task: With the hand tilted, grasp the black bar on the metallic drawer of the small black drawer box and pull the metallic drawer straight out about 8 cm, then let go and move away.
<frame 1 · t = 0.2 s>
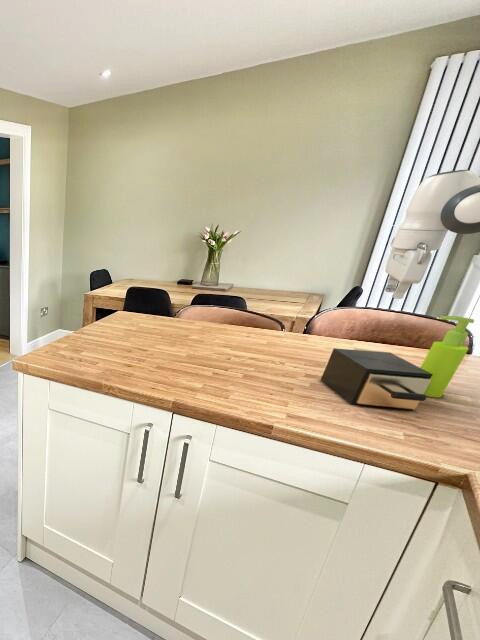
hand: (392, 294, 109), 22 cm above the countertop, tool pointing down, fingers open, 8 cm apart
black drawer box: (363, 394, 103), on the countertop
soap dispenser: (421, 392, 105), on the countertop
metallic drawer: (381, 384, 97), point 5 cm above the countertop, slide at 0.0 cm
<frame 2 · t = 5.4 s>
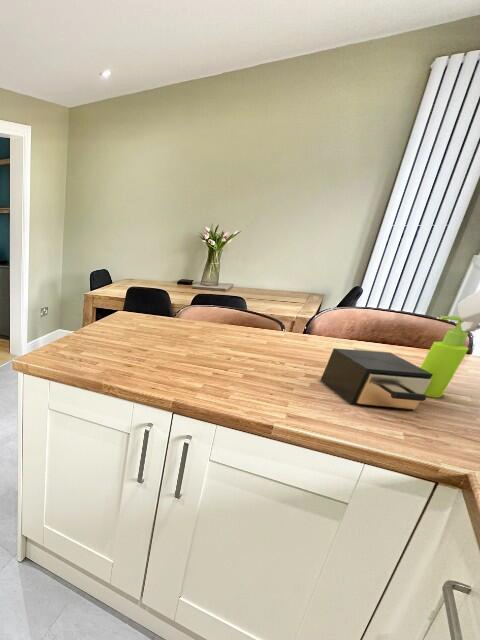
nothing on the countertop moved.
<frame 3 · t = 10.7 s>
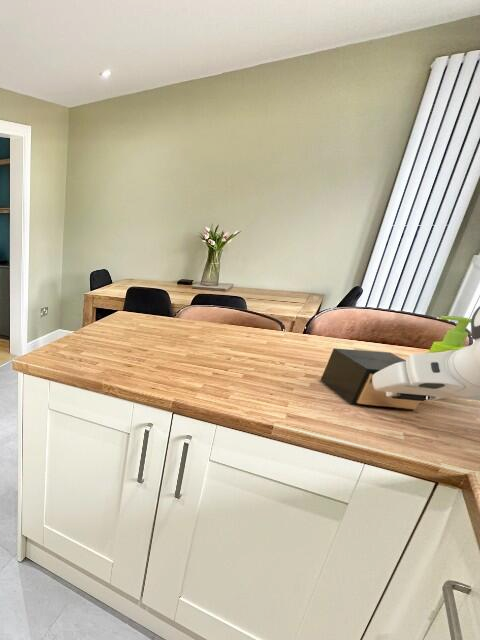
hand: (407, 395, 90), 6 cm above the countertop, tool tilted 45°, fingers closed on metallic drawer, 5 cm apart
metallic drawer: (381, 384, 97), point 5 cm above the countertop, slide at 0.0 cm, touching gripper
everything else where it was.
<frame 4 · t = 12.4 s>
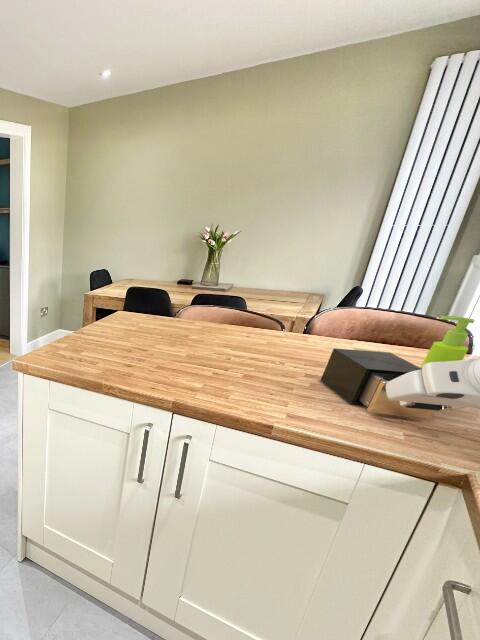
hand: (422, 404, 86), 6 cm above the countertop, tool tilted 45°, fingers closed on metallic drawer, 5 cm apart
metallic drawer: (394, 392, 93), point 5 cm above the countertop, slide at 4.6 cm, touching gripper
everything else where it was.
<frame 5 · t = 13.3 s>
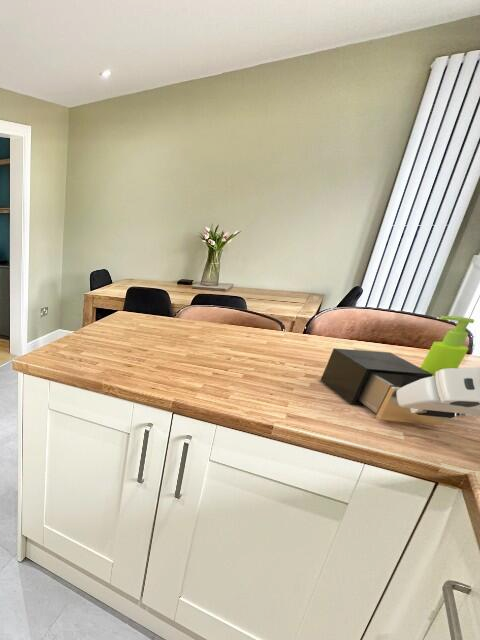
hand: (434, 411, 83), 6 cm above the countertop, tool tilted 45°, fingers closed on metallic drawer, 5 cm apart
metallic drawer: (404, 398, 90), point 5 cm above the countertop, slide at 7.8 cm, touching gripper
everything else where it was.
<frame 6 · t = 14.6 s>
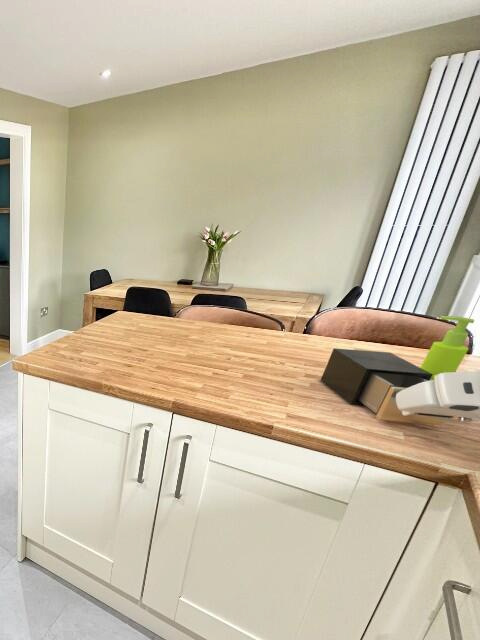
hand: (433, 415, 83), 5 cm above the countertop, tool tilted 45°, fingers open, 8 cm apart
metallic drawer: (404, 398, 90), point 5 cm above the countertop, slide at 7.8 cm
everything else where it was.
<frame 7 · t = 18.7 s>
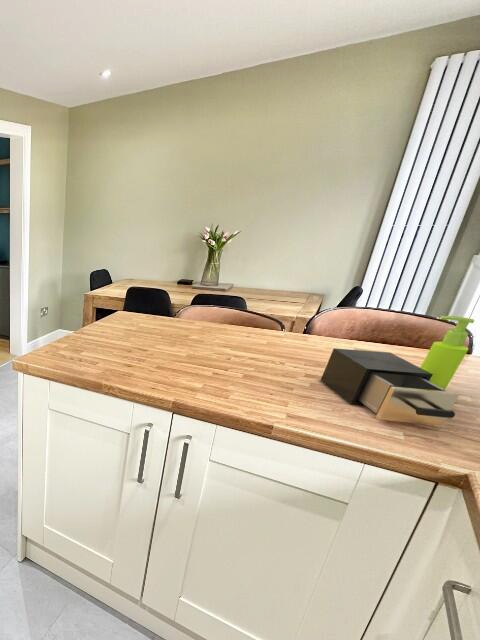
nothing on the countertop moved.
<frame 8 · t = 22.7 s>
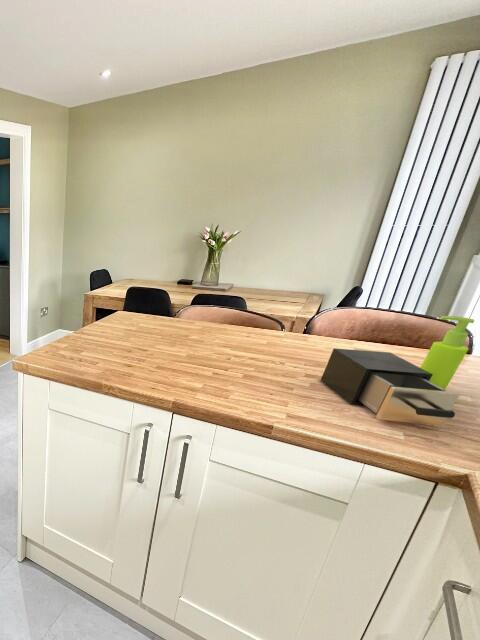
nothing on the countertop moved.
at the end: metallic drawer slide at 7.8 cm; the gripper is holding nothing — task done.
